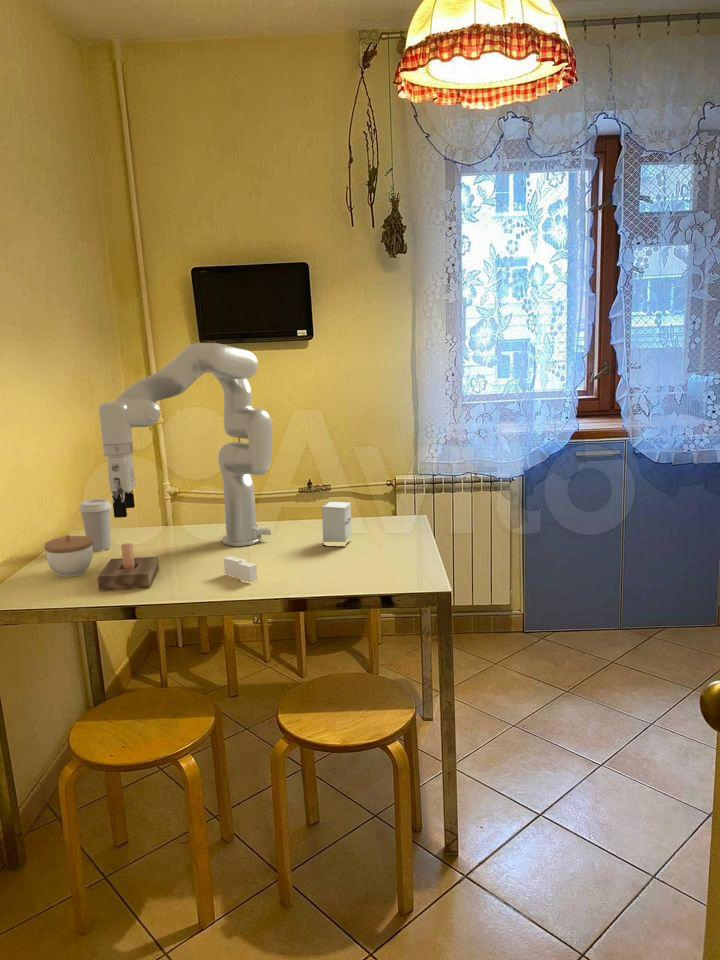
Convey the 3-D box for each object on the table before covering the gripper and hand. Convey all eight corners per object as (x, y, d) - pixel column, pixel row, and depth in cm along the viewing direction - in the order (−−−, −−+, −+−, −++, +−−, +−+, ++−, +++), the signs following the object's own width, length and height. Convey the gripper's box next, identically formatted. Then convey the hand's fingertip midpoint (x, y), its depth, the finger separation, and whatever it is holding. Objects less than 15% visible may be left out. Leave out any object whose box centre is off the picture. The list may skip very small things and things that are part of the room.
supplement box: (345, 548, 229) (344, 507, 226) (322, 546, 231) (321, 506, 228) (352, 541, 236) (351, 502, 233) (330, 539, 238) (328, 501, 235)
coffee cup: (120, 543, 239) (115, 498, 236) (109, 553, 230) (104, 505, 227) (90, 544, 239) (85, 498, 236) (78, 553, 230) (73, 506, 227)
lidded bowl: (50, 583, 204) (46, 544, 201) (45, 570, 214) (41, 533, 212) (99, 575, 209) (95, 537, 207) (91, 563, 220) (87, 526, 218)
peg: (137, 578, 206) (133, 543, 204) (134, 581, 203) (131, 546, 201) (125, 578, 206) (122, 543, 204) (123, 582, 203) (120, 546, 201)
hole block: (159, 570, 212) (158, 556, 212) (149, 588, 198) (148, 573, 197) (112, 572, 211) (111, 558, 211) (98, 591, 197) (97, 576, 196)
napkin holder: (217, 574, 209) (216, 554, 208) (258, 570, 212) (257, 550, 211) (220, 592, 195) (219, 571, 194) (264, 588, 197) (263, 567, 196)
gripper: (125, 454, 189) (132, 520, 193) (139, 443, 206) (145, 503, 210) (95, 456, 188) (102, 521, 192) (111, 444, 205) (117, 505, 209)
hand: (124, 512), depth 201 cm, fingers open, 9 cm apart
